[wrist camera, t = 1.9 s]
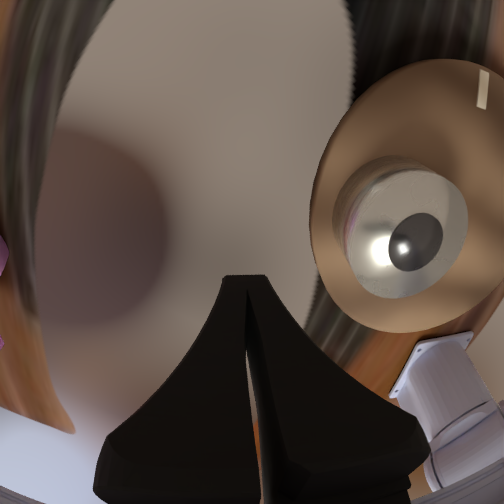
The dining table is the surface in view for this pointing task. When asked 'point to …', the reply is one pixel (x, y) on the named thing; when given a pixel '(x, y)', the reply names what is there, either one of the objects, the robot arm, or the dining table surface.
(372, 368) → the dining table surface
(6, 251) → the teakettle
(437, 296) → the turntable
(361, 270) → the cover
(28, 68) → the dining table surface
